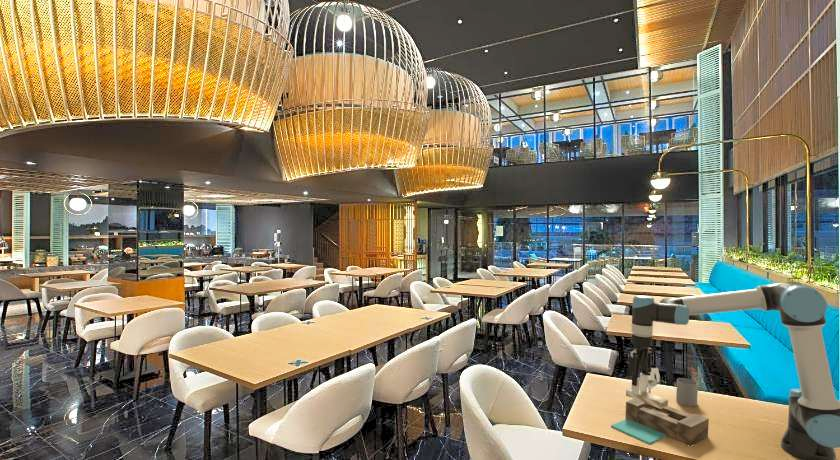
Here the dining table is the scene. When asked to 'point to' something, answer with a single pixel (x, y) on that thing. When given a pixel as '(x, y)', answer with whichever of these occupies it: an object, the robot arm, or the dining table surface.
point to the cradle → (669, 421)
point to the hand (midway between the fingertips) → (639, 391)
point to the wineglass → (653, 377)
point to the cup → (687, 392)
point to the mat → (638, 431)
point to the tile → (648, 398)
